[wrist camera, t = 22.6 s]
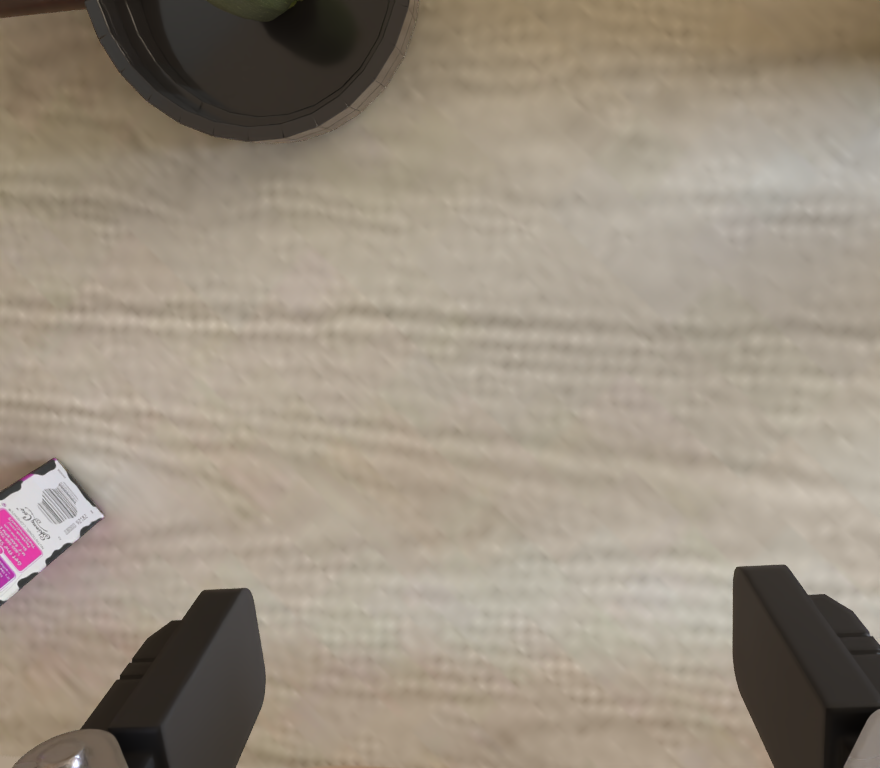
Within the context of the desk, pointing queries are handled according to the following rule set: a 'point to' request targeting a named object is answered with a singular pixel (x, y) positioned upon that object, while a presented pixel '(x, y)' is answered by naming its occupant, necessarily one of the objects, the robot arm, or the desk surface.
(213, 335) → the desk surface
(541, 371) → the desk surface
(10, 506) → the candy bar box
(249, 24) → the pan
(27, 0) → the pan handle
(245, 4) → the vegetable
